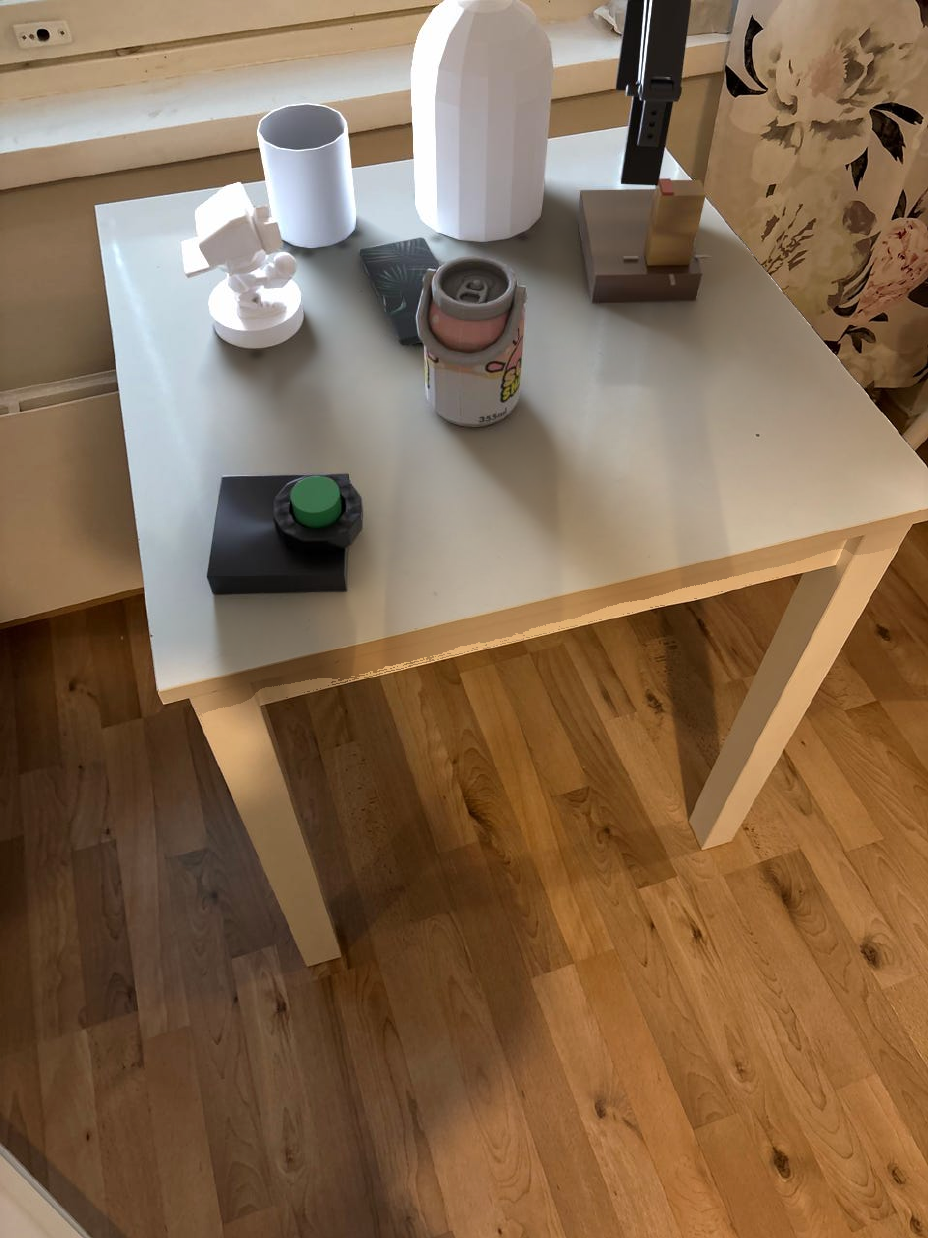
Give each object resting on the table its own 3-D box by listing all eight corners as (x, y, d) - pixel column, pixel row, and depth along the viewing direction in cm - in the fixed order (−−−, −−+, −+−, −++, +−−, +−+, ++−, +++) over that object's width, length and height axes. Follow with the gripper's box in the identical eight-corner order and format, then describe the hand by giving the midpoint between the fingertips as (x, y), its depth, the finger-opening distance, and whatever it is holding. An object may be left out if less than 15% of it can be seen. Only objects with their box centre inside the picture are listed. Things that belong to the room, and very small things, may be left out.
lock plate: (710, 311, 90) (717, 282, 87) (593, 313, 90) (597, 284, 87) (683, 215, 99) (689, 186, 96) (577, 216, 98) (580, 188, 96)
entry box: (363, 591, 71) (359, 558, 68) (212, 594, 71) (200, 561, 67) (367, 491, 77) (363, 456, 73) (227, 494, 76) (216, 459, 73)
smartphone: (423, 235, 95) (472, 325, 87) (424, 244, 96) (472, 334, 87) (357, 248, 93) (400, 341, 85) (358, 257, 94) (400, 350, 86)
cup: (352, 248, 95) (342, 151, 87) (270, 247, 95) (252, 150, 87) (358, 200, 100) (349, 103, 92) (280, 199, 100) (264, 102, 92)
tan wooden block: (685, 249, 90) (701, 176, 84) (689, 265, 89) (706, 192, 83) (643, 249, 90) (656, 177, 84) (647, 265, 89) (660, 193, 83)
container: (567, 221, 98) (589, 9, 81) (450, 256, 94) (448, 41, 78) (506, 157, 105) (515, -52, 88) (395, 186, 101) (383, -25, 85)
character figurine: (309, 340, 87) (290, 221, 77) (205, 356, 86) (172, 236, 76) (297, 282, 92) (277, 163, 82) (198, 296, 91) (166, 176, 81)
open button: (341, 527, 70) (338, 512, 68) (292, 528, 70) (288, 513, 68) (343, 491, 72) (340, 475, 70) (295, 492, 72) (292, 476, 70)
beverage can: (504, 450, 79) (511, 333, 69) (408, 430, 81) (401, 312, 71) (530, 377, 84) (540, 259, 75) (439, 359, 86) (437, 241, 76)
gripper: (620, -287, 63) (585, 52, 80) (634, -152, 49) (588, 225, 66) (734, -285, 63) (674, 55, 80) (782, -148, 48) (696, 229, 66)
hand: (635, 133), depth 73 cm, fingers open, 13 cm apart
